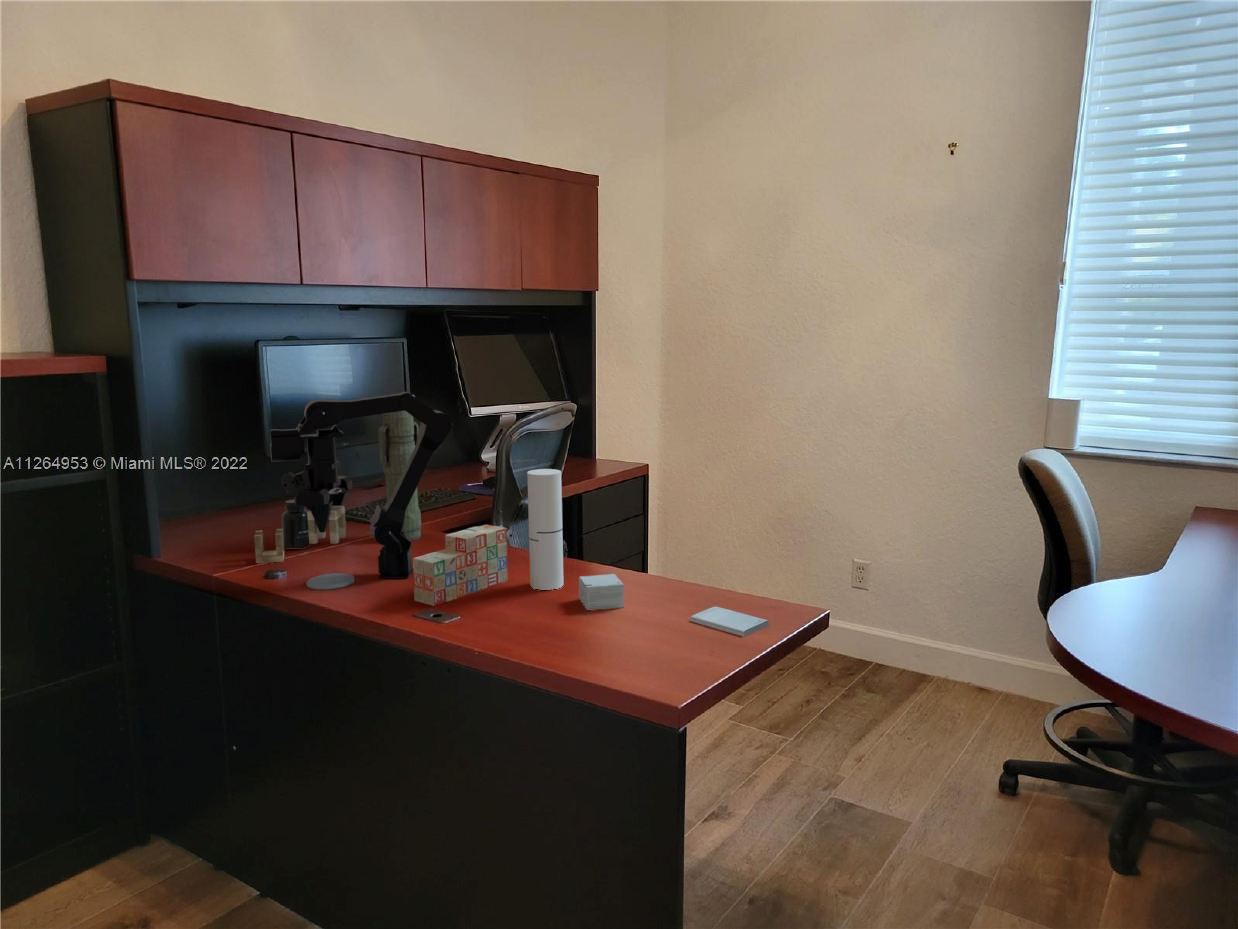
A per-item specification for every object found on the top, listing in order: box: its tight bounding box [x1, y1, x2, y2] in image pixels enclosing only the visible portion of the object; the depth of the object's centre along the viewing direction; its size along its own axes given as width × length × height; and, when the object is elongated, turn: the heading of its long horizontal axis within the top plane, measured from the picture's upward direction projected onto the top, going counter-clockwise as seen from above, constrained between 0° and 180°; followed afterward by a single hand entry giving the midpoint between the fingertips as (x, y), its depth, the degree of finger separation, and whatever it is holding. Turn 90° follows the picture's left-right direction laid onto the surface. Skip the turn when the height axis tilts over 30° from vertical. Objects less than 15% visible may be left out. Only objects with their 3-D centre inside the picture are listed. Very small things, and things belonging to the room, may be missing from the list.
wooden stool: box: [307, 505, 347, 545], centre depth 193 cm, size 6×6×7 cm
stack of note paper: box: [578, 573, 625, 611], centre depth 179 cm, size 8×8×5 cm
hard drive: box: [689, 606, 770, 637], centre depth 168 cm, size 2×8×12 cm
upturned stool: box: [253, 528, 285, 565], centre depth 213 cm, size 6×6×7 cm
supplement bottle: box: [281, 499, 310, 549], centre depth 224 cm, size 7×7×12 cm
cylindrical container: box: [526, 468, 564, 591], centre depth 189 cm, size 7×7×25 cm
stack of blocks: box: [412, 524, 509, 607], centre depth 188 cm, size 21×6×12 cm, turn 143°
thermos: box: [377, 411, 422, 542], centre depth 231 cm, size 9×12×35 cm
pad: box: [306, 572, 355, 591], centre depth 195 cm, size 10×10×1 cm
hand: (327, 528), depth 193 cm, fingers closed on wooden stool, 6 cm apart
